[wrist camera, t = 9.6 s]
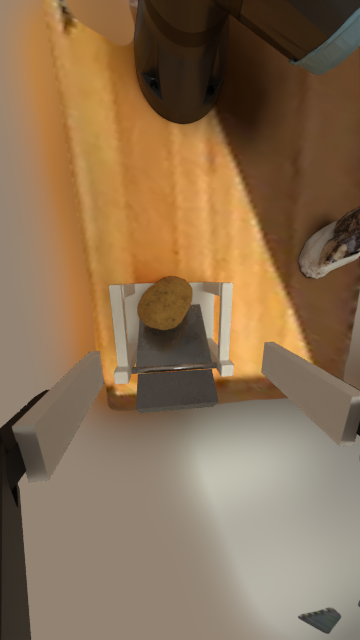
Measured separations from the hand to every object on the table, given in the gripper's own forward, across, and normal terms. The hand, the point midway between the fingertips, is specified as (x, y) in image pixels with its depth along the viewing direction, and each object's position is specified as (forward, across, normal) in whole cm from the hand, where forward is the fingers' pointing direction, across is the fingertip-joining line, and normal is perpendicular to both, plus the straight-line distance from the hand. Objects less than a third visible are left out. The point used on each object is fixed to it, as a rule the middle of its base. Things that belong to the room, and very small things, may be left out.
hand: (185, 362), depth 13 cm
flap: (+19, 0, -8) cm, 20 cm away
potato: (+22, 0, -1) cm, 22 cm away
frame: (+26, 0, -3) cm, 26 cm away
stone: (+26, +35, +13) cm, 45 cm away
